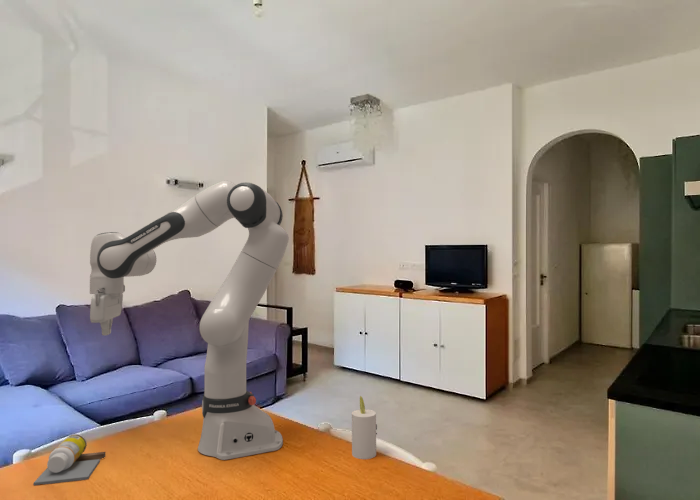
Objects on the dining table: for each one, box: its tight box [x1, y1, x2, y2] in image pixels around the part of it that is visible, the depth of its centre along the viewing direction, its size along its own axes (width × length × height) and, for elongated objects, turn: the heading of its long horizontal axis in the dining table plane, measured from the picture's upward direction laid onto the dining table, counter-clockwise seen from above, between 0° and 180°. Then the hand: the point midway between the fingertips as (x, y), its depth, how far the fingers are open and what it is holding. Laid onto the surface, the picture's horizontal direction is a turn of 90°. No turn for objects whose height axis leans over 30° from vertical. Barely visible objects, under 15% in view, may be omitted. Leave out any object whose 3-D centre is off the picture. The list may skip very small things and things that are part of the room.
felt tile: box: [32, 459, 101, 486], centre depth 109 cm, size 11×10×1 cm
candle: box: [351, 395, 378, 460], centre depth 119 cm, size 6×6×15 cm
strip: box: [75, 451, 106, 462], centre depth 116 cm, size 12×2×1 cm, turn 105°
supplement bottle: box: [46, 433, 88, 473], centre depth 111 cm, size 6×6×10 cm
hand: (106, 334), depth 134 cm, fingers closed
